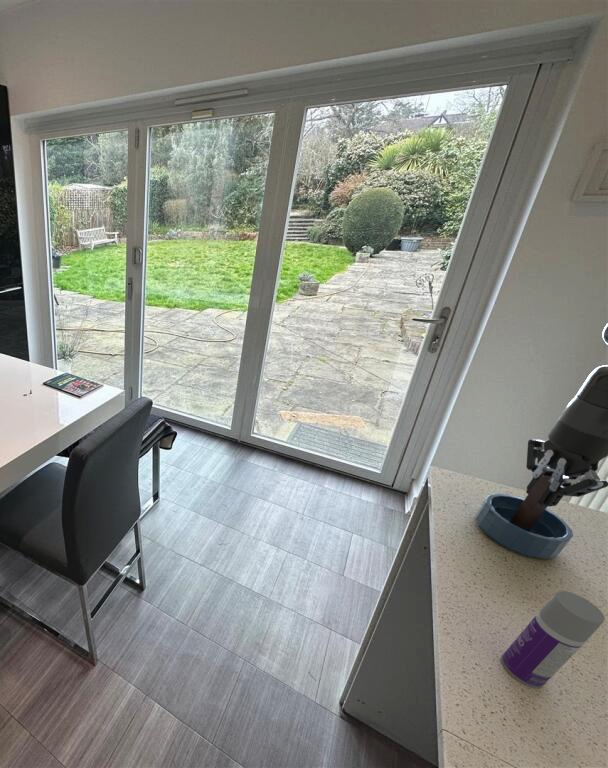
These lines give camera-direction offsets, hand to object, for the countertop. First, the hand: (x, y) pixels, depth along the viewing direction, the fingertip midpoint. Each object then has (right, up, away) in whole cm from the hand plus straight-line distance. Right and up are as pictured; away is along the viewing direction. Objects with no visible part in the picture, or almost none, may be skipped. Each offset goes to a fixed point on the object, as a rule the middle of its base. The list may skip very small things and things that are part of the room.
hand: (538, 499), depth 79 cm
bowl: (0, -9, +4) cm, 10 cm away
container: (-23, -20, -19) cm, 36 cm away
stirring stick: (0, -7, +4) cm, 8 cm away
